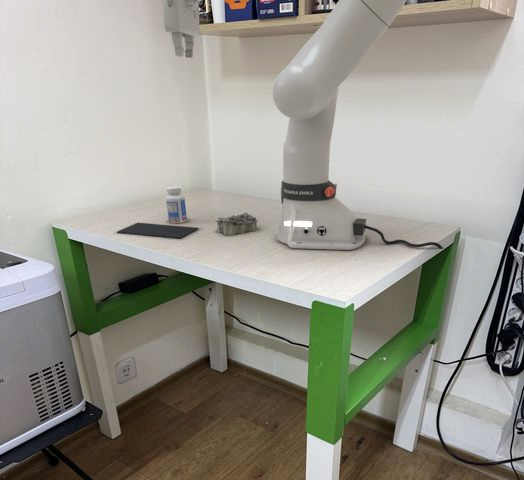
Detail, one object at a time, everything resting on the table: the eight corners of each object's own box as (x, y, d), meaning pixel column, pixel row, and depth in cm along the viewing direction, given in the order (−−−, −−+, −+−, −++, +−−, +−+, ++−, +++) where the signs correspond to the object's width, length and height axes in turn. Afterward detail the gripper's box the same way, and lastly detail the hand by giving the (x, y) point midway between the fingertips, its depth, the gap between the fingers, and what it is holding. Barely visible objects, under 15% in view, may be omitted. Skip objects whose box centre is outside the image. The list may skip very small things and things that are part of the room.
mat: (198, 229, 134) (198, 227, 134) (180, 238, 126) (180, 237, 126) (137, 223, 140) (137, 222, 140) (117, 232, 132) (117, 231, 132)
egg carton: (226, 236, 127) (225, 221, 125) (214, 230, 132) (212, 215, 130) (260, 230, 131) (260, 215, 129) (247, 224, 137) (246, 209, 135)
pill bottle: (182, 218, 145) (179, 184, 140) (190, 221, 141) (186, 187, 136) (165, 220, 143) (161, 187, 138) (172, 224, 139) (168, 189, 134)
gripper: (180, -20, 103) (186, 55, 110) (201, -6, 121) (205, 58, 128) (152, -19, 104) (160, 55, 111) (177, -5, 122) (182, 58, 129)
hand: (184, 57), depth 120 cm, fingers open, 8 cm apart
